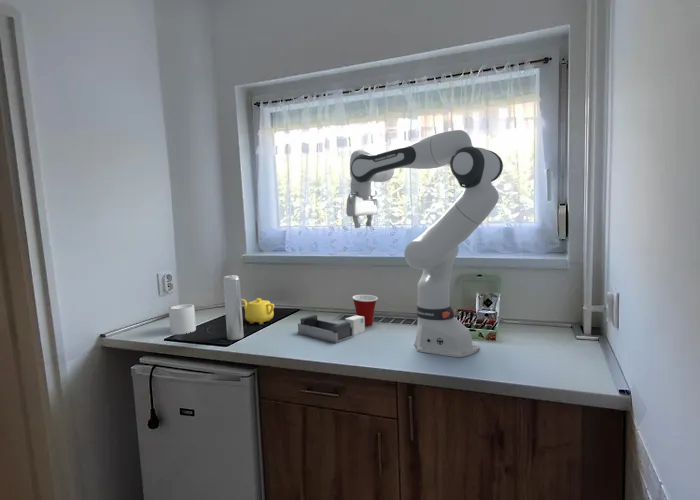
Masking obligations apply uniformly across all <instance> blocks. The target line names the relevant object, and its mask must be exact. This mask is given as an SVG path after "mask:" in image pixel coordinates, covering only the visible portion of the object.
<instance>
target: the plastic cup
mask: <svg viewBox="0 0 700 500" xmlns="http://www.w3.org/2000/svg"><path fill="white" fill-rule="evenodd" d="M352 299H353V304H354V307H355V309H354V310H355V315H358V316H363V317H364V320H365V327H367V326H368V327H369V326H373V322H374V315H375V308H376V303H377V301H378V299H379V298H378V297H377V296H375V295H371V294H356V295H353V296H352Z"/></svg>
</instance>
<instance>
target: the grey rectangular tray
mask: <svg viewBox="0 0 700 500" xmlns="http://www.w3.org/2000/svg"><path fill="white" fill-rule="evenodd" d="M297 333H298V334H300V335H304V336H308V337H311V338H315V339H320V340H323V341H327V342H330V343H334V344H337V343H340V342H343V341H345V340H348V339H352V338H354V336H355V335H354V329H353V327H350V323H349V322H345V321H344V322H342V323H335V322H333V321H332V322H331V321H327V320H322V319H318V315H315V314H312V315H309V316H305V317H301V318H300V322H299V323H297Z"/></svg>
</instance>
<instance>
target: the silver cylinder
mask: <svg viewBox="0 0 700 500" xmlns="http://www.w3.org/2000/svg"><path fill="white" fill-rule="evenodd" d="M222 283H223V296H224V298H223V299H224V308H225V309H224V311H225V322H226V323H225V325H226V337H227V338H226V339H227V340H228V341H237V340H241V339H243V338H244V337H245V335H244V322H243V321H244V320H243V319H244V318H243V308H242V307H243V305H242V300H241V299H242V293H241V292H242V291H241V279H240V277H239V276H238V275H232V274H231V275H225V276H223V279H222Z"/></svg>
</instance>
